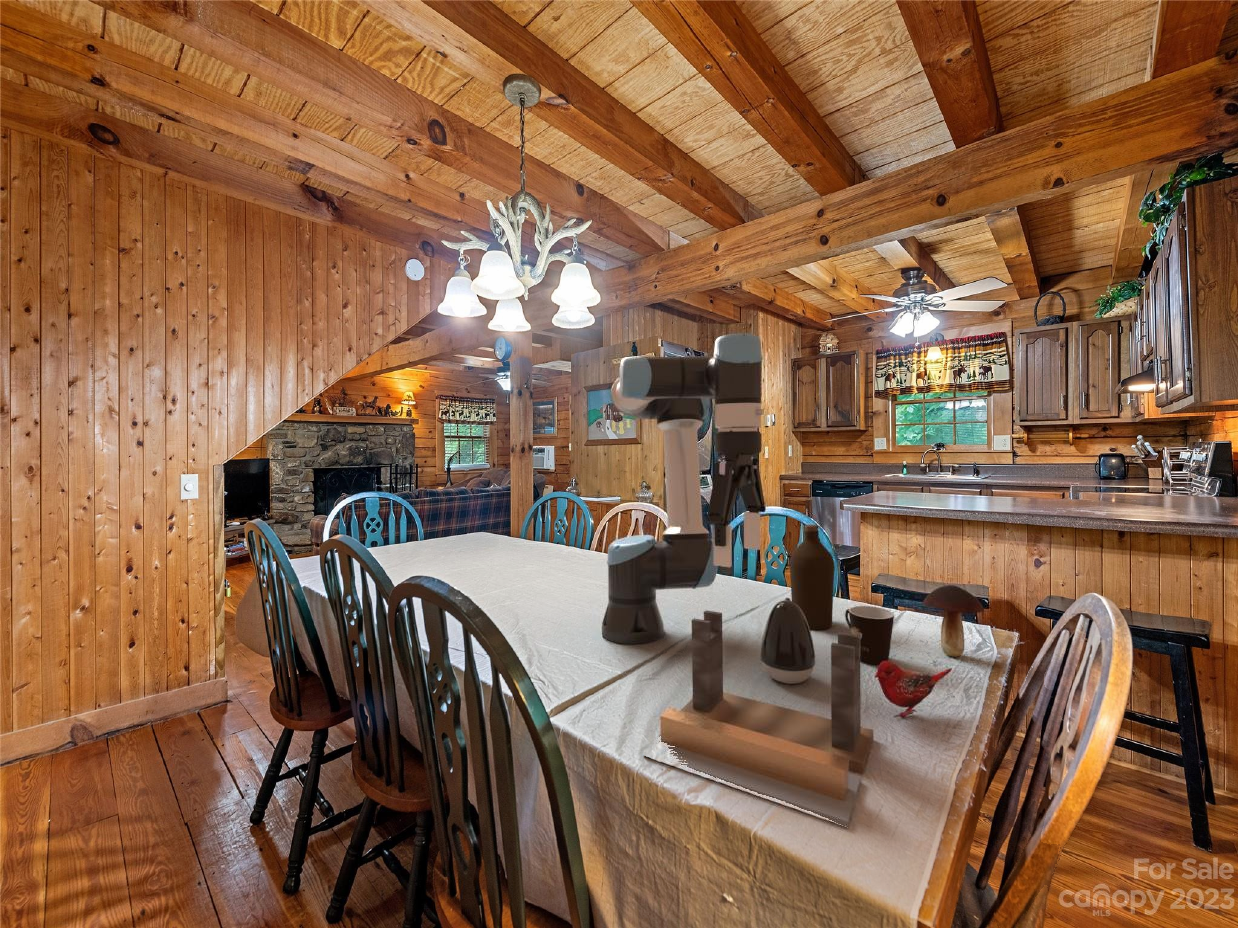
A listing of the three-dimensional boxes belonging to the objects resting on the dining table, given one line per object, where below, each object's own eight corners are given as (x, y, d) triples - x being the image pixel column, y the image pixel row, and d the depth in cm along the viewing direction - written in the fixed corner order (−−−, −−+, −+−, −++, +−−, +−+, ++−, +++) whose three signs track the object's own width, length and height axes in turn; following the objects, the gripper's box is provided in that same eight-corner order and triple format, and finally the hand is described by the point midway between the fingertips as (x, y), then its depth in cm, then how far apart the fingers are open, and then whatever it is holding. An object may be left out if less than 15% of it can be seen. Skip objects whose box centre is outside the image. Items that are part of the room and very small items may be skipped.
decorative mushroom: (912, 647, 116) (912, 580, 116) (958, 644, 117) (958, 578, 117) (946, 667, 106) (947, 593, 105) (998, 665, 106) (998, 591, 106)
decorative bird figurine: (867, 720, 86) (867, 660, 86) (944, 699, 93) (944, 643, 92) (882, 728, 84) (882, 666, 83) (960, 707, 90) (960, 649, 90)
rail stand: (679, 719, 88) (678, 621, 87) (704, 695, 96) (702, 605, 95) (863, 774, 72) (862, 655, 72) (873, 739, 81) (873, 633, 80)
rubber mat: (643, 756, 78) (643, 751, 77) (674, 725, 86) (674, 720, 86) (847, 828, 62) (847, 821, 62) (861, 782, 71) (861, 776, 71)
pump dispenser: (815, 669, 106) (814, 595, 105) (816, 693, 96) (815, 610, 96) (762, 664, 109) (761, 591, 109) (758, 685, 99) (757, 606, 99)
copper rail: (660, 741, 80) (660, 715, 80) (669, 732, 82) (669, 707, 82) (844, 801, 66) (844, 770, 66) (848, 788, 68) (848, 757, 68)
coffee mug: (900, 669, 105) (900, 619, 105) (854, 666, 107) (853, 617, 107) (883, 647, 117) (883, 602, 117) (841, 644, 119) (841, 601, 118)
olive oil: (805, 632, 126) (804, 529, 126) (782, 619, 137) (781, 523, 136) (844, 628, 129) (843, 527, 128) (818, 615, 139) (817, 521, 138)
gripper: (731, 430, 75) (731, 577, 76) (782, 429, 95) (782, 544, 97) (683, 431, 79) (684, 570, 80) (743, 429, 100) (743, 540, 101)
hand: (738, 556), depth 88 cm, fingers open, 13 cm apart
